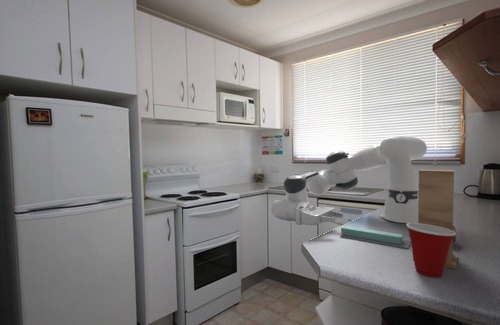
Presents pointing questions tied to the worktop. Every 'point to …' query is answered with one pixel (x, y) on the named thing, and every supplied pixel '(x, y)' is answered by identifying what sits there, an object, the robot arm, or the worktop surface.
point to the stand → (437, 203)
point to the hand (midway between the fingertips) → (338, 217)
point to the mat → (404, 244)
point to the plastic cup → (430, 247)
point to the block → (372, 234)
